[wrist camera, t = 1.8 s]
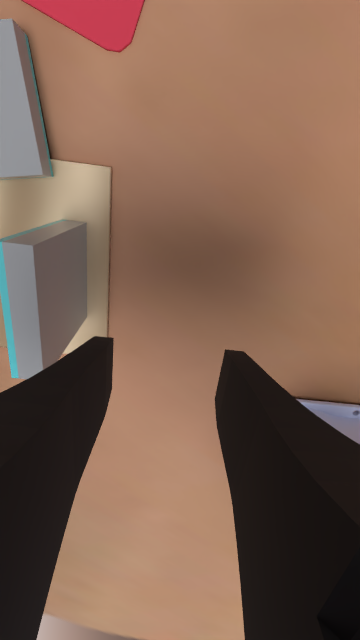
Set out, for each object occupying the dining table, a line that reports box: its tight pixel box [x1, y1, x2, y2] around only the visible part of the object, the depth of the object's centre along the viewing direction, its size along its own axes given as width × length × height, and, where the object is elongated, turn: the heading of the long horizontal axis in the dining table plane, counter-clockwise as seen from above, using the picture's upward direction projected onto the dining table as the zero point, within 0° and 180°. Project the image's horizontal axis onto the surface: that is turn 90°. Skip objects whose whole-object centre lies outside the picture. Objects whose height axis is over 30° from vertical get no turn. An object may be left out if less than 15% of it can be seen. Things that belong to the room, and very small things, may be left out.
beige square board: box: [0, 159, 112, 354], centre depth 18 cm, size 12×12×1 cm
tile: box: [0, 219, 87, 379], centre depth 15 cm, size 1×6×7 cm, turn 173°
